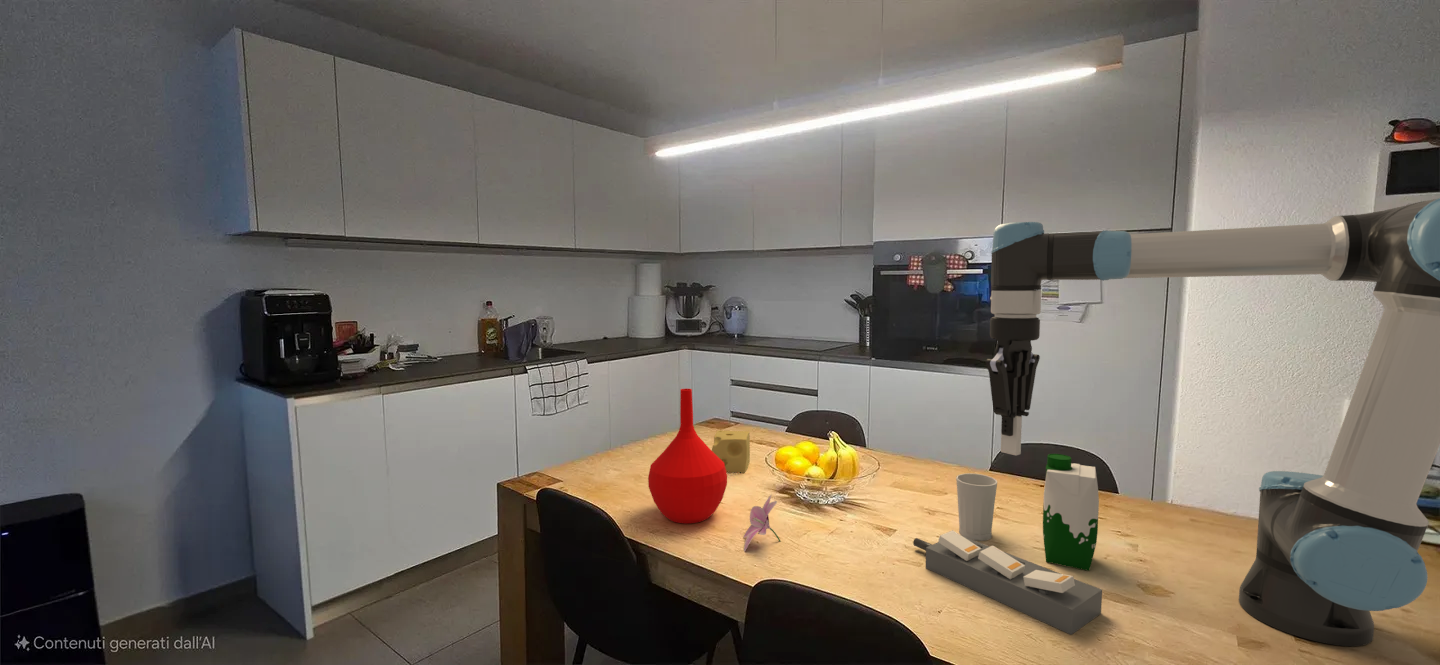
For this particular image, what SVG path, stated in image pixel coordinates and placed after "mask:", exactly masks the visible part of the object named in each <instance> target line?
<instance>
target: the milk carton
mask: <svg viewBox="0 0 1440 665" xmlns="http://www.w3.org/2000/svg"><path fill="white" fill-rule="evenodd" d="M1046 457H1047V459H1046V464H1045V479H1044V480H1045V482H1044V491H1043V505H1042V506H1043V507H1042V509H1043V510H1042V513H1043V514H1042V537H1043V538H1042V539H1043V546H1044V555H1045V562H1046V563H1050V564H1054V565H1059V566H1064V567H1068V568H1073V569H1078V570H1081V571H1082V570H1083V571H1087V572H1090V571H1091V567H1092V566H1091V565H1092V562H1093V559H1094V556H1095V555H1094V554H1095V551H1096V547H1097V542H1098V541H1097V540H1098V533H1099V532H1098V531H1099V530H1098V529H1099V528H1098V527H1099V510H1100V508H1099V506H1100V498H1099V486H1098V485H1099V484H1098V478H1097V471H1096V466H1089V465H1082V464H1080V463H1072V457H1071V456H1069V455H1066V454H1060V453H1048V454H1047V456H1046Z"/></svg>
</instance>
